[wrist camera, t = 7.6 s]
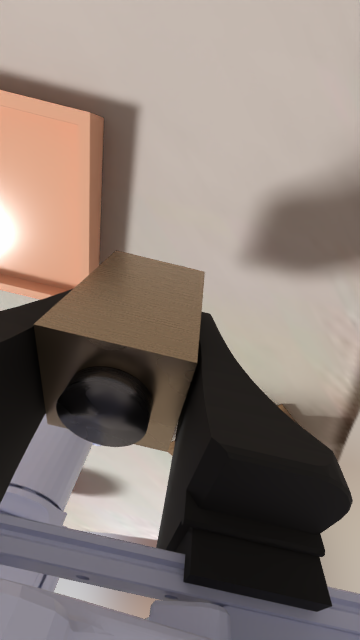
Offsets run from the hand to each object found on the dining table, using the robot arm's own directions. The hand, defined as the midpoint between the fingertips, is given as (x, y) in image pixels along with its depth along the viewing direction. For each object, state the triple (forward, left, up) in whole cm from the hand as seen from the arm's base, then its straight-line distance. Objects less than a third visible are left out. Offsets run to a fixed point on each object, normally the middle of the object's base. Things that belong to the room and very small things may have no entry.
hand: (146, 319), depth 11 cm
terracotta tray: (-11, +1, -8) cm, 14 cm away
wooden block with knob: (0, 0, -2) cm, 2 cm away
